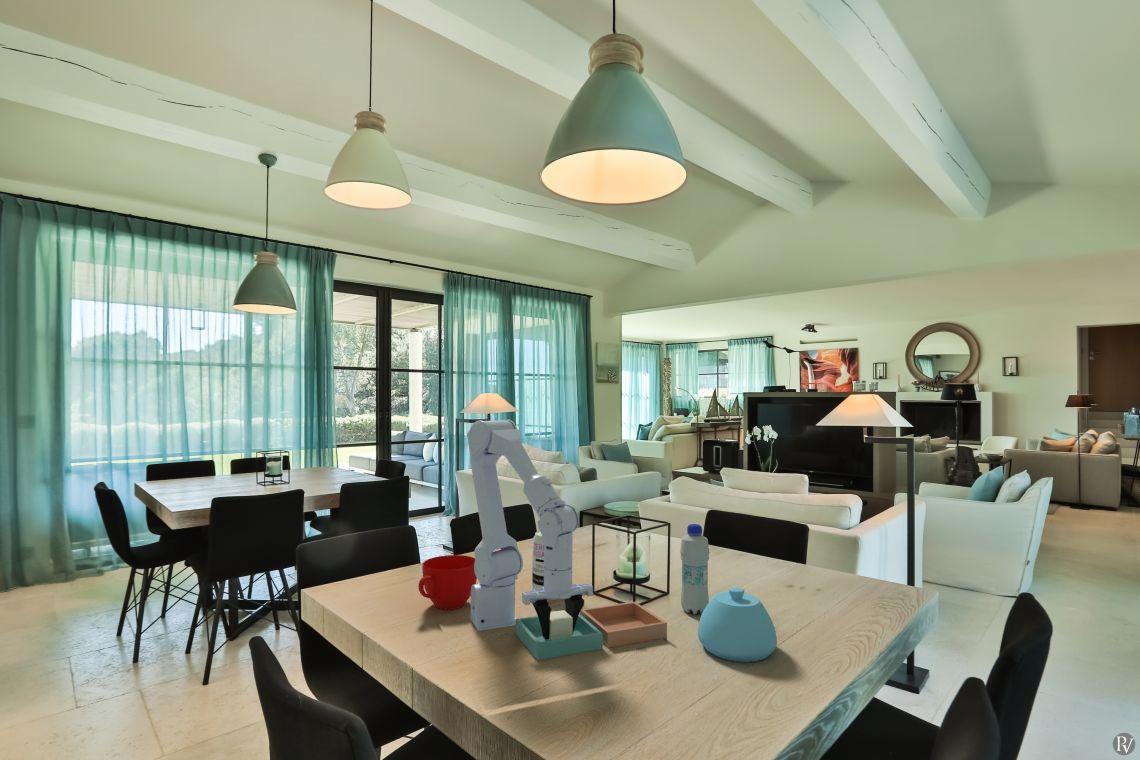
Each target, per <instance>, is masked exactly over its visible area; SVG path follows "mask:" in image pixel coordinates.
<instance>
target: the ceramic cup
mask: <svg viewBox="0 0 1140 760" xmlns="http://www.w3.org/2000/svg"><path fill="white" fill-rule="evenodd" d="M474 563H475V557H473V556H471V555H470V556H469V555H462V554H454V555H453V554H449V555H448V554H447V555H440V556H435V557H431V558H428V559H426V560H424V561H423V562H422V577H421V578H420V579H419V581H418V592H419V594H420V595H421V596H422V597H424V598H426V599H430V601H431V602H432V604H434V605H435V607H436V608H438V609H440V610H455V609H459V608H462V607H463V606H465V603H467V601H468V600H469V599H470V598H471V587H472V585H474V584H477V580H478V579H477V577H476V575H475V571H474Z"/></svg>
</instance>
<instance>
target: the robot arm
mask: <svg viewBox="0 0 1140 760" xmlns="http://www.w3.org/2000/svg"><path fill="white" fill-rule="evenodd" d="M521 435H522V433H521V431H520V430H519V429H518V427H517V425H516V424H515V422H514V421H513V420H511V419H503V420H502V419H499V420H476V421H475V422H473V424H472V425H471V427H470V428H469V430H468V432H467V434H466V436H467V442H468V447H469V456H470V457H469V458H470V459H469V460H470V467H471V473H472V481H473V486H474V492H475V499H476V505H477V511H478V516H479V517H478V518H479V523H480V530H481V536H482V539H481V541H480V542H479V544H478V545H477V546H476V547H475V549H474V558H475V563H474V571H475V575H476V577H477V580H478V583H476V584H474V585H472V587H471V596H470V614H469V615H470V617H469V619H470V621H471V623H472V624H473V626H474V627H475V629H476V630H477V631H480V632H481V631H486V630H492V629H499V628H505V627H512V626H516V619H518V618H517V617H516V581H517V580H518V575H519V574H520V573H521V572H522V570H523V566H524V559H523V556H522V554H521V551H520V550H519V547H518V543H517V540H516V539H515V538H514V537H512V536H511V535H509V534H508V530H507V524H506V519H505V512H504V508H503V507H504V506H503V501H502V494H501V490H500V484H499V483H500V482H499V477H498V472H497V471H498V470H497V462H498V461H499V460H500V459H501V457H503V456H504V457H505V459H506V460H507V462H508V463H509V464H510V465H511V466H512V469H513V470H514V471H515V472H516V473H517V475H518V477H519V478H520V479H521V480H522V482H523V483H524V485H523V488H522V489H523V491H522V492H523V494H524V495H525V496H526V499H527V500H528V502H529V503H530V505H531V506H532V508H533V510H534V511H535V513H536V515H537V516H538V518H539V520H538V521H537V526H538V529H539V530H538V531H540V532H541V534H542V542H543V545H544V587H541V588H538V589H534V590H532V589H531V590H527V591H522V592H521V597H522V598H521V603H522V604H524V605H525V606H527V605H530V604H532V606H533V608H534V610H535V612H536V616H538V618H539V621H540V625H541V629H542V636H543V637H544V638H545V639H546V640H547V639H549V635H550V627H549V623H550V614H551V612H552V607H551V606H550V605H549V602H548V601H555V600H564V605H565V611H566V612H567V613H568V614H569V615H570V616H571V617H572V618H573V632H574V628H575V624H576V621H577V618H578V615H579V614H580V611H581V609H584V608H583V607H584V606H585V599H584V598H583V597H584V596H587V597H593V596H594V595H593V594H594V587H593V585H592V584H591V583H575V584H574V583H573V537H574V536H573V532H575V531H576V530H577V528H578V526H579V522H580V521H579V515H578V513H577V511H576V509H575V507H574V506H573V505H572V504H569V503H566V501H565V500H563V499H562V498H561V497H560V495H559V493H558V492H557V491H556V489H555V487H554V486H553V485H552V483H553V482H552V481H551V479H550V478H548V477H547V476H546V475H541V474H539V473H538V471H537V469H536V466H535V465H534V464H533V461H532V460H531V459H530V455H528V453H527V450H526V448H525V446H524V445H523V443H522V442H521V439H522V438H521V437H522V436H521ZM499 549H500V550H499Z"/></svg>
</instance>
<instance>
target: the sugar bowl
mask: <svg viewBox="0 0 1140 760" xmlns="http://www.w3.org/2000/svg"><path fill="white" fill-rule="evenodd" d="M700 615H701V616H700V619H699V622H698V627H697V637H698V639H699V642H700V643H701V645H702V646H703V647H704V648H705V649H706V651H707V652H708V653H710V654H712V655H713V656H715V657H717V658H720V659H723V660H726V659H727V661H731V660H733V661H732V662H737V661H742V662H741V663H751V662H750V661H754V662H760V661H763V660H765V659H767V658H768V657H769V656H770V655H771V654H772V653H773V652H774V651H775V649H776V648H777V645H778V638H777V633H776V628H775V626H774V623H773V620H772V618H771V616H770V614H769V613H768V610H767V609H766V608H765V606H764V605H763V603H762V601H761V600H760V599H759V598H758V597H756V596H755V595H752V594H749V593H745V590H744V589H743V588H741V587H729V588H728V591H722V592H721V591H720V592H718V593H715V594H714V595H713V596H712V598H711V599H710V601H709V603H708V605H707V606H706V608H705V609H704V611H703V613H702V614H700ZM762 659H763V660H762ZM759 660H760V661H759Z"/></svg>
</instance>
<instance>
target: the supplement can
mask: <svg viewBox="0 0 1140 760" xmlns="http://www.w3.org/2000/svg"><path fill="white" fill-rule="evenodd" d="M531 568H532V571H531V574H532V578H531V579H532V580H531V581H532V582H531V583H532V585H531V586H532V588H531V590H534V589H538V588H541V587H544V545H543V542H542V534H541V532H540V530H538V531H536V532H535V534H534V536H533V538H532V567H531Z"/></svg>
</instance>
